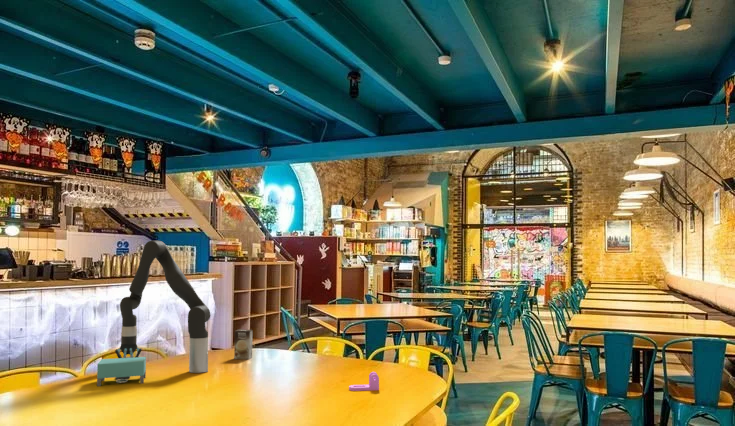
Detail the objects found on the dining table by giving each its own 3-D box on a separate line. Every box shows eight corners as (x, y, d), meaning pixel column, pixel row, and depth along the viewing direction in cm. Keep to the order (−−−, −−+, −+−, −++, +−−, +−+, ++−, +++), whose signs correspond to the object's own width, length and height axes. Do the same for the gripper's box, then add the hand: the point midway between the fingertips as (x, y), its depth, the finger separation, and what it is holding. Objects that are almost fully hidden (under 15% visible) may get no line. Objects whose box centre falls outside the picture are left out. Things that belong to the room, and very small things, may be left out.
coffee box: (233, 359, 337) (233, 330, 338) (237, 357, 344) (237, 329, 345) (249, 359, 336) (249, 330, 337) (252, 357, 343) (252, 329, 344)
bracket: (377, 387, 267) (377, 371, 267) (378, 390, 261) (378, 374, 262) (348, 388, 266) (348, 372, 266) (349, 391, 260) (349, 375, 260)
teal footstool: (145, 377, 291) (145, 356, 291) (143, 383, 278) (143, 361, 279) (101, 380, 285) (101, 359, 286) (97, 386, 272) (97, 364, 273)
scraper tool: (122, 368, 313) (123, 356, 314) (135, 367, 315) (135, 356, 316) (116, 379, 287) (116, 366, 287) (129, 378, 288) (129, 366, 289)
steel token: (128, 381, 285) (128, 378, 285) (127, 383, 280) (127, 380, 280) (117, 381, 283) (117, 379, 283) (115, 383, 278) (115, 381, 278)
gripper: (143, 333, 317) (142, 366, 316) (115, 334, 313) (114, 367, 312) (142, 335, 309) (141, 368, 309) (113, 336, 306) (112, 370, 305)
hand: (128, 368), depth 310 cm, fingers closed on scraper tool, 2 cm apart
